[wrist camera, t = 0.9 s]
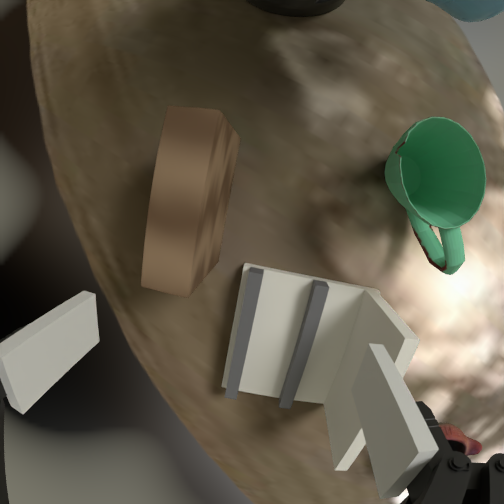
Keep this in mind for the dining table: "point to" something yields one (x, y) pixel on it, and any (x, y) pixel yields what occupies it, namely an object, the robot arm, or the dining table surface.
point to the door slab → (188, 199)
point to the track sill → (311, 346)
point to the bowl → (460, 440)
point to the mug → (438, 185)
